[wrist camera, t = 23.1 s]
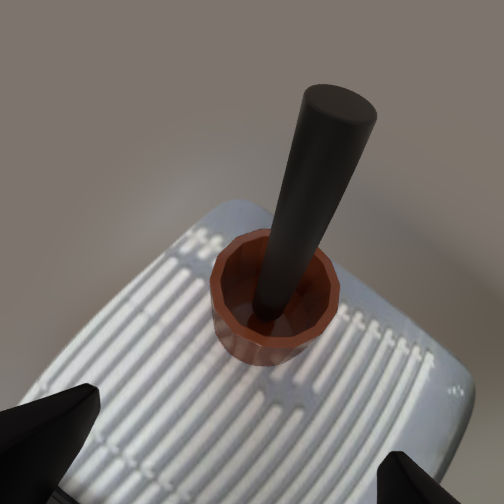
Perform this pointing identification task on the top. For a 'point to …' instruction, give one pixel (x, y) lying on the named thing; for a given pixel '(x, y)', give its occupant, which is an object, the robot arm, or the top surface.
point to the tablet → (60, 497)
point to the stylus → (311, 188)
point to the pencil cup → (292, 319)
